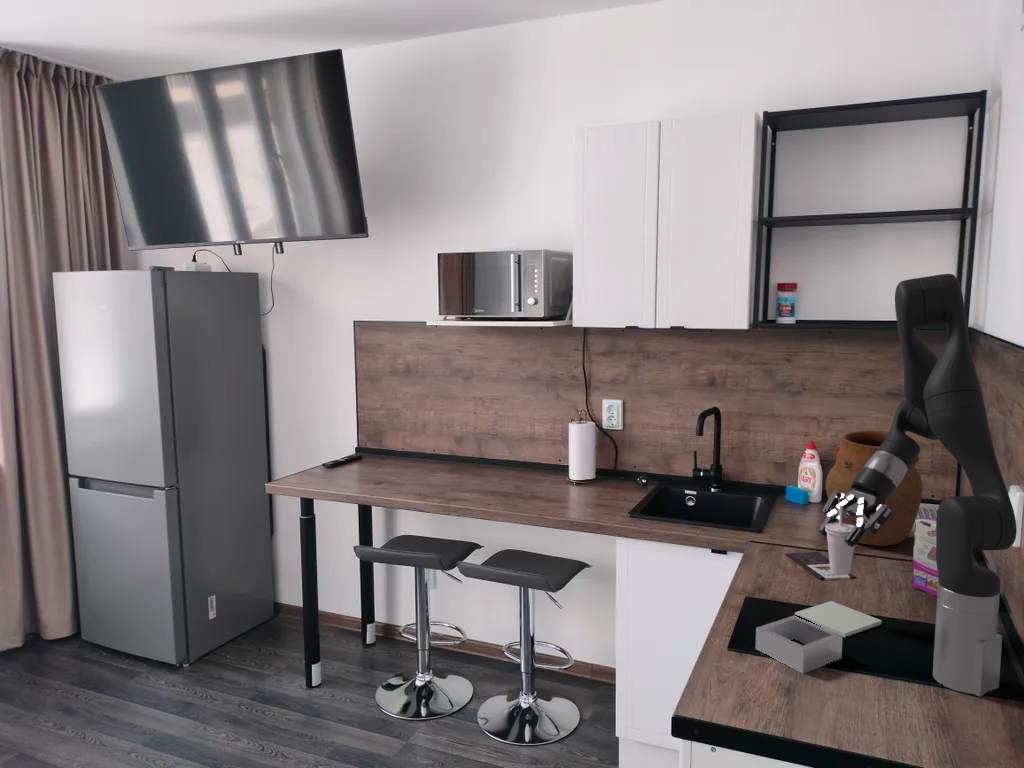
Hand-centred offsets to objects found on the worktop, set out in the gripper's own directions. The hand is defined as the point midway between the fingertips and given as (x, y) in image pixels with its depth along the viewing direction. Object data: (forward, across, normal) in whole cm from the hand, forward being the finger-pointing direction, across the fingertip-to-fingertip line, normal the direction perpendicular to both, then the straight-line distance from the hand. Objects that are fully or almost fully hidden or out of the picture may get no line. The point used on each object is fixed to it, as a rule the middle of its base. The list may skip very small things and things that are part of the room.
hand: (835, 539), depth 158 cm
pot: (-23, -36, +49) cm, 65 cm away
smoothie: (+4, 0, +6) cm, 8 cm away
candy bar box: (-11, -1, +37) cm, 38 cm away
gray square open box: (+25, +9, 0) cm, 26 cm away
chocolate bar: (-3, -26, +29) cm, 39 cm away
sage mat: (+12, 0, +14) cm, 18 cm away
